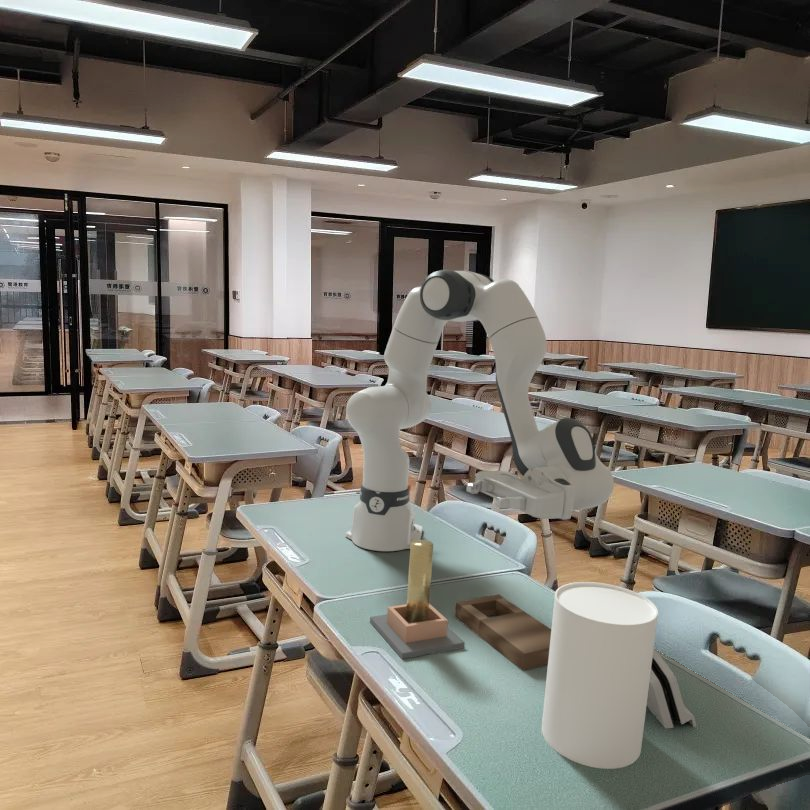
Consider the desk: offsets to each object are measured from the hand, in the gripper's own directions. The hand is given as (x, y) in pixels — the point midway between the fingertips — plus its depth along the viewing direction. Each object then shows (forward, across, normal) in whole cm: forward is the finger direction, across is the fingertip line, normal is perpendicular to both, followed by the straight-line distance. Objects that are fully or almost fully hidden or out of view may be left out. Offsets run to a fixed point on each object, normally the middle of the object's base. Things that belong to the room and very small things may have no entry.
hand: (482, 495), depth 125 cm
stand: (+12, 0, +25) cm, 28 cm away
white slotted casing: (-12, +31, +25) cm, 42 cm away
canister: (+4, +36, +25) cm, 43 cm away
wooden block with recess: (-3, +7, +25) cm, 26 cm away
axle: (+12, 0, +24) cm, 27 cm away
